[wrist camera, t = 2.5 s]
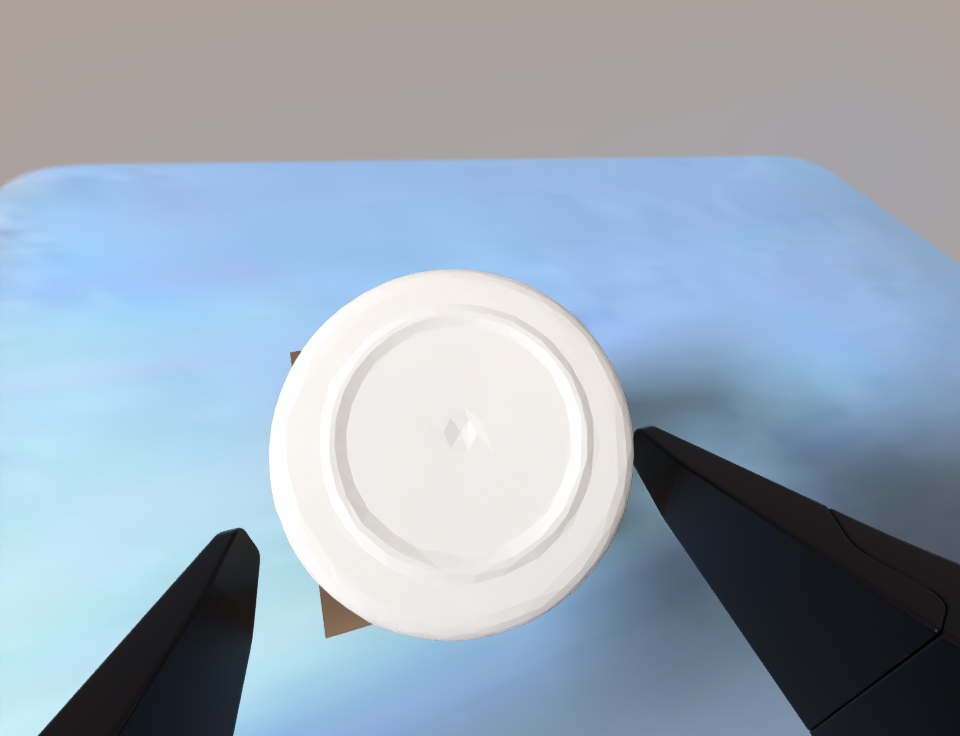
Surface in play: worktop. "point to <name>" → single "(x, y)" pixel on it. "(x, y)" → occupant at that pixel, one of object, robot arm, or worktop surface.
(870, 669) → the robot arm
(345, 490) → the sprinkles bottle
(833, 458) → the worktop surface
